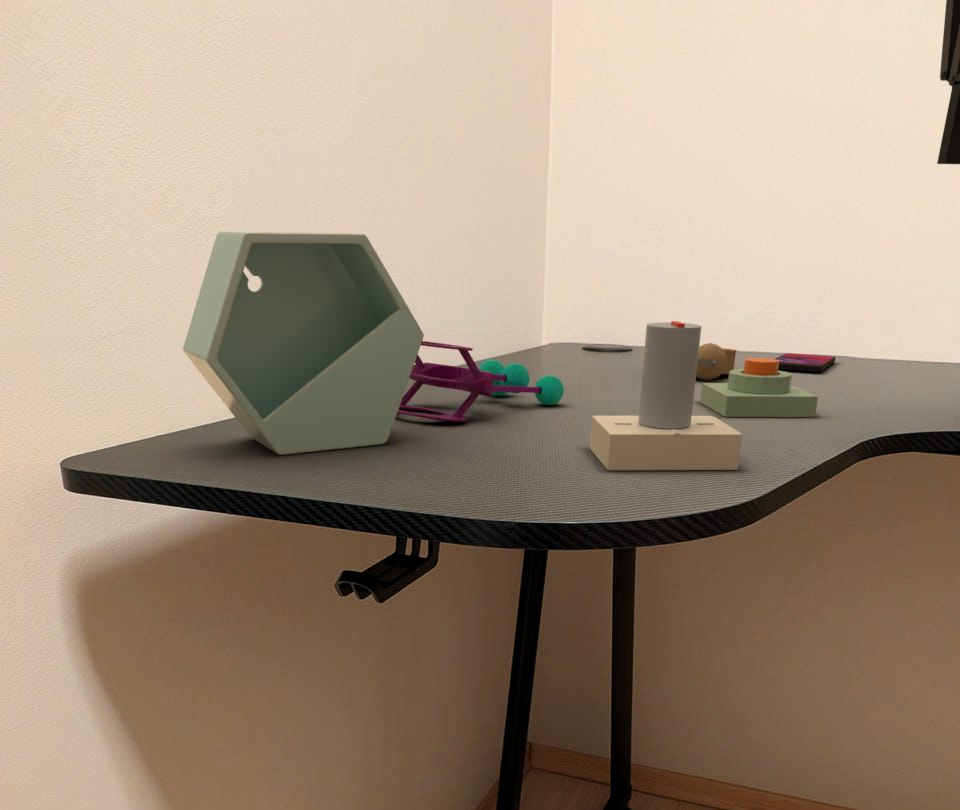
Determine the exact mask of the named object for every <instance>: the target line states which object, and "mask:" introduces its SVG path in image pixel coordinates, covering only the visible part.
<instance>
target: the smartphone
mask: <svg viewBox="0 0 960 810" xmlns="http://www.w3.org/2000/svg"><path fill="white" fill-rule="evenodd" d="M836 358H837V357H835V356H832V355H821V354H820V355H818V354H803V353H784V354H782V355H780V356H778V357H776V358H775V359H776V360H779V367H778V370H791V371H806V372H822V371H824V370H825V369H826V368H828V367H829V366H831V365H832V364H834V363H835V362H836Z"/></svg>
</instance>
